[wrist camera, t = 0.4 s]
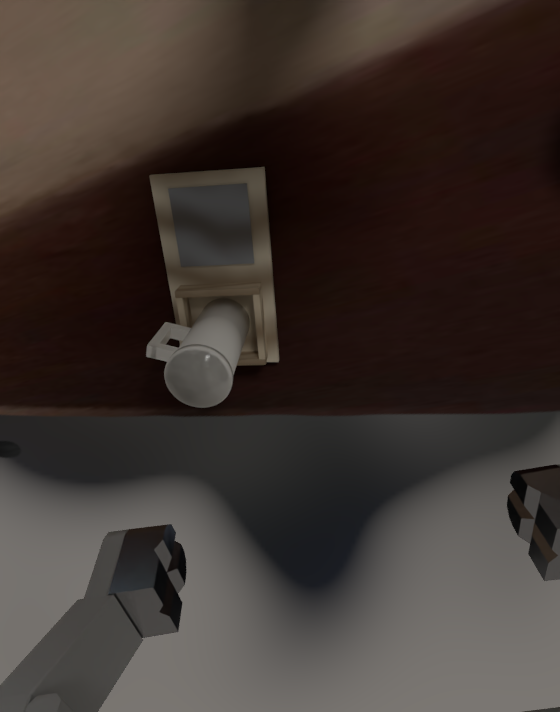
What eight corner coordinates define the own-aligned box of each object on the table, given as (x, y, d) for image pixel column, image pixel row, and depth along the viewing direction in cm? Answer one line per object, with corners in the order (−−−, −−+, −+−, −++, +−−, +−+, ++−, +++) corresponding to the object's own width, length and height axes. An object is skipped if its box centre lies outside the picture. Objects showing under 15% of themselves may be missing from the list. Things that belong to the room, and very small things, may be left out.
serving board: (152, 174, 52) (141, 177, 49) (264, 166, 51) (261, 169, 47) (185, 360, 62) (178, 373, 59) (279, 357, 61) (277, 370, 58)
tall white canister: (256, 304, 57) (237, 357, 43) (245, 351, 60) (225, 414, 46) (181, 285, 56) (139, 333, 43) (174, 333, 59) (133, 392, 46)
